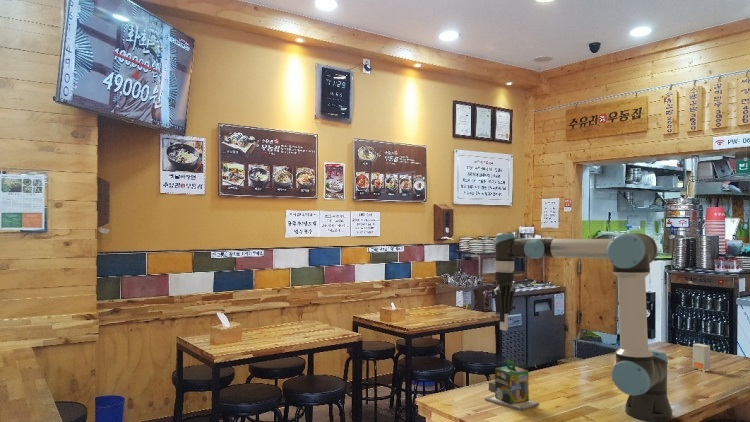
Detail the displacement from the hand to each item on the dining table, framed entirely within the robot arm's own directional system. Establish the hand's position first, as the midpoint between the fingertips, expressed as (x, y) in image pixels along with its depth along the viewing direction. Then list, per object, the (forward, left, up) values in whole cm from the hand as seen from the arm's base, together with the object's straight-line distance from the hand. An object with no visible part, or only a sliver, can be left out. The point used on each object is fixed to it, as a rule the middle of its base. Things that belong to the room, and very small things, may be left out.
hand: (503, 329), depth 224 cm
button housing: (0, 0, -24) cm, 24 cm away
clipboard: (-11, +10, -24) cm, 29 cm away
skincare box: (-40, -102, -25) cm, 112 cm away
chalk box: (-11, +10, -24) cm, 28 cm away
